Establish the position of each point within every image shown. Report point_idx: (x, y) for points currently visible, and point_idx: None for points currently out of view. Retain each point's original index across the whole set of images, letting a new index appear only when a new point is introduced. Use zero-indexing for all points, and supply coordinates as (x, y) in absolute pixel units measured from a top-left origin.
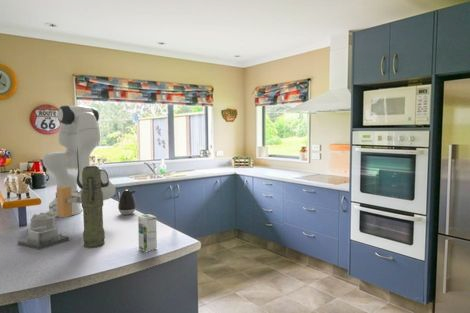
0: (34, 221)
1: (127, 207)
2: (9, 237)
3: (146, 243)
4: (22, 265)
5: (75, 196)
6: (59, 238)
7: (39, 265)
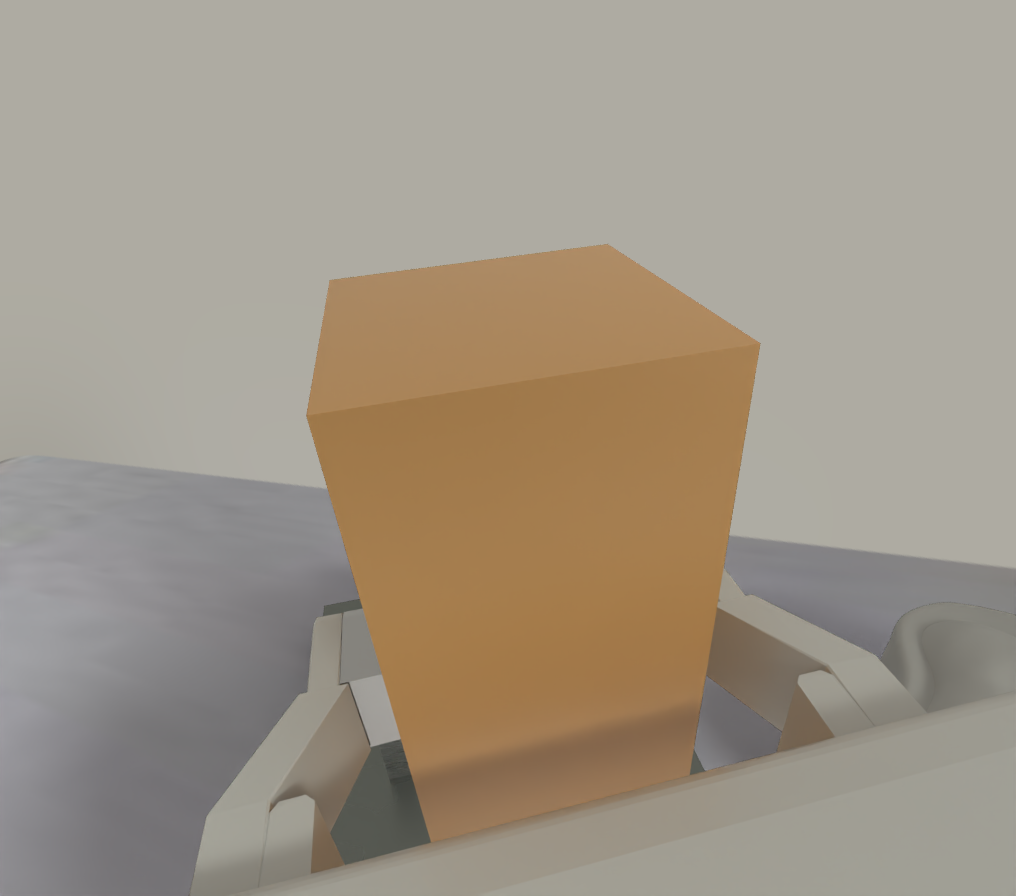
0: (894, 630)
1: None
2: (840, 569)
3: None
4: (180, 520)
5: (330, 874)
6: (356, 782)
7: (79, 562)
